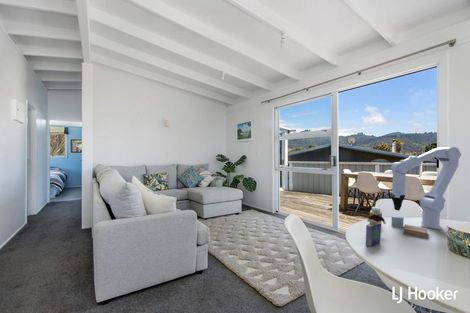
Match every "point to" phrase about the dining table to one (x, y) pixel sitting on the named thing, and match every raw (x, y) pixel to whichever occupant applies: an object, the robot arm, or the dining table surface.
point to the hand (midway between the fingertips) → (397, 208)
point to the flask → (373, 233)
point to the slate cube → (397, 221)
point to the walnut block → (415, 231)
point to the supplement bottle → (373, 213)
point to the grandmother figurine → (376, 216)
